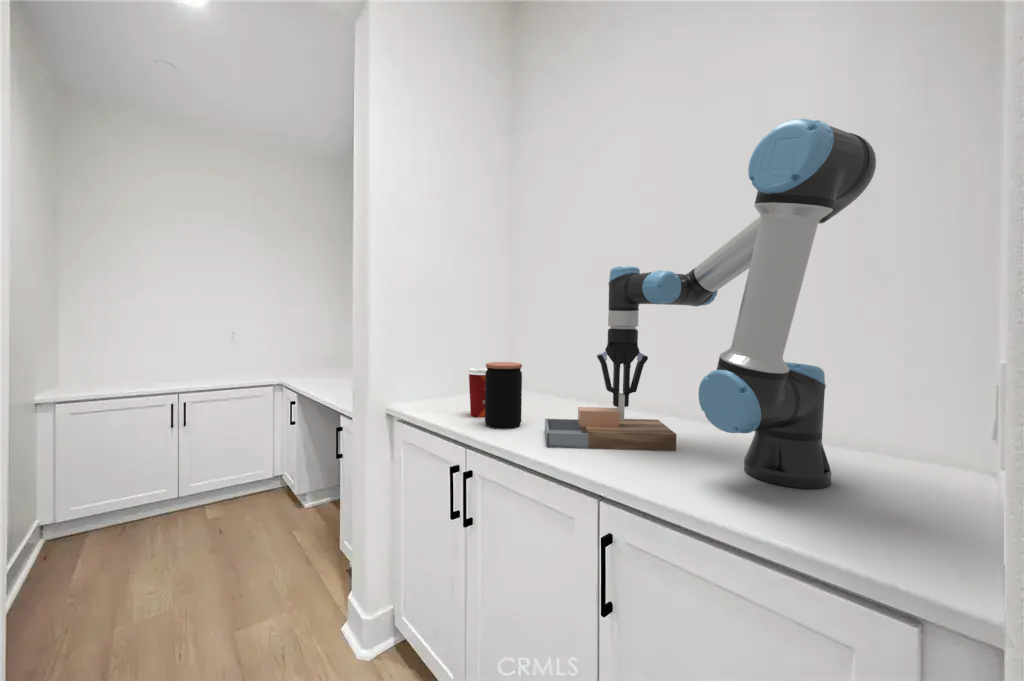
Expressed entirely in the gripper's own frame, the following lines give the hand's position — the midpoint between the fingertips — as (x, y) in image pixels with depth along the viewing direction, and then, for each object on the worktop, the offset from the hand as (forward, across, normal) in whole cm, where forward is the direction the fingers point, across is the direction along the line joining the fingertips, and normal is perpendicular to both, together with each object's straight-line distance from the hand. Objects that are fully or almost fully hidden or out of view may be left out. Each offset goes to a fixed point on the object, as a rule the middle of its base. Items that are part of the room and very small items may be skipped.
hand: (620, 418), depth 118 cm
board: (+6, -1, 0) cm, 6 cm away
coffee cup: (+6, +39, -25) cm, 47 cm away
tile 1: (+2, +8, 0) cm, 8 cm away
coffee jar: (+6, +31, -13) cm, 35 cm away
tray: (+6, +14, 0) cm, 15 cm away
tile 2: (+2, +3, 0) cm, 4 cm away
